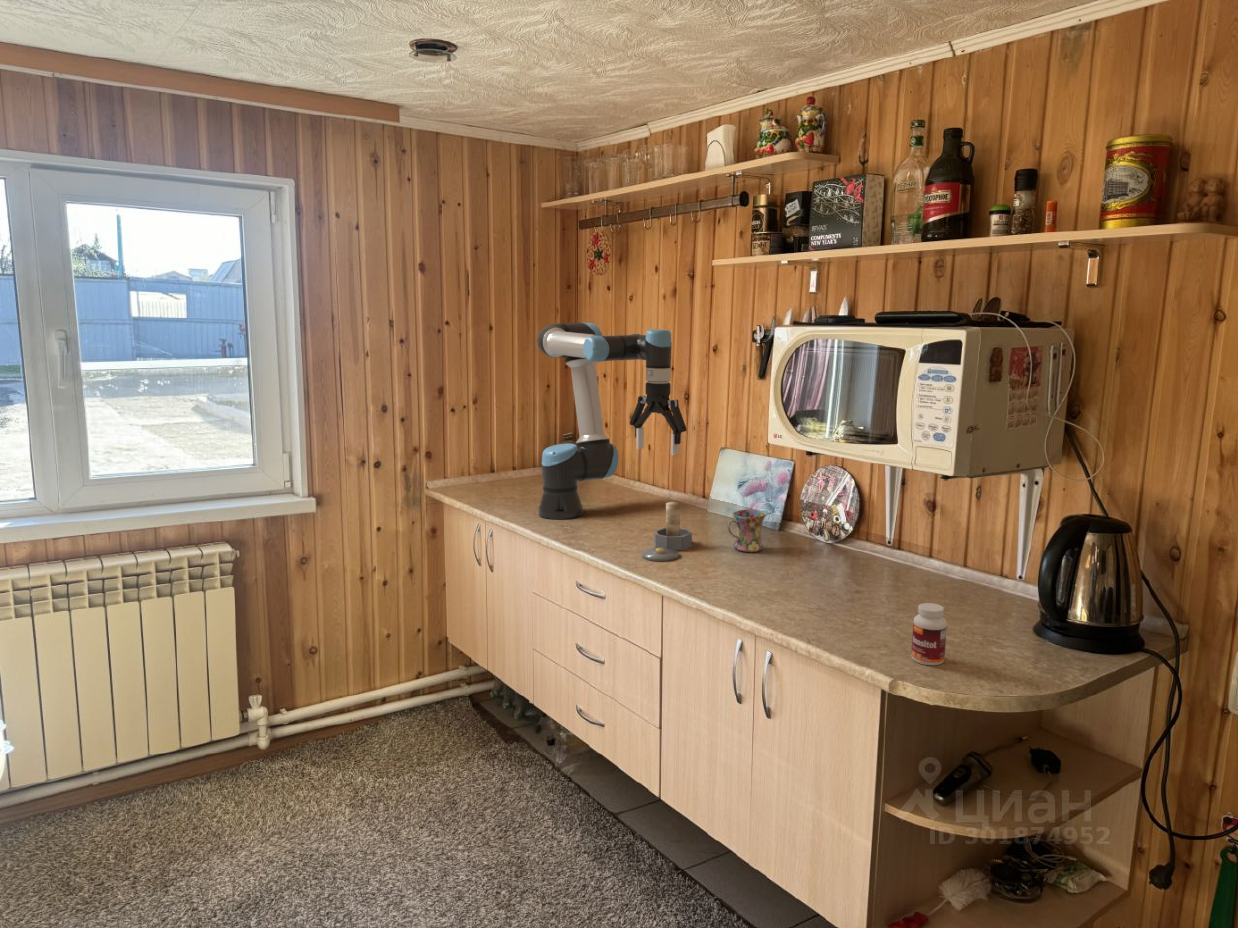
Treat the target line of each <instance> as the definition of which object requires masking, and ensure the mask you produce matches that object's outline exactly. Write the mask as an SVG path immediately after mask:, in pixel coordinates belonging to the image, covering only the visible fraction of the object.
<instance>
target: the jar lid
mask: <svg viewBox="0 0 1238 928" xmlns="http://www.w3.org/2000/svg"><path fill="white" fill-rule="evenodd" d="M641 554H642V558H643V559H644V560H646V561H650V562H670V561H673V560H677V559H678V558H679V552H678V550H673V549H668V548H655V547H653V548H652V547H651V548H649V549H645V550H643V551H642V553H641Z"/></svg>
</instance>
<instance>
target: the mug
mask: <svg viewBox="0 0 1238 928" xmlns="http://www.w3.org/2000/svg"><path fill="white" fill-rule="evenodd" d="M732 517H733V519H734V520H733V519H732V520H730V521H728V523H727V526H726V527H727V530H728V533H729V534H730V535H731V536H732V537H733V538H736V539H735V541H734V544H733V548H734V549H735V550H737V551H739V552H745V553H746V552H747V553H754V552H755V553H756V552H759V551H761V550H763V548H764V545H763V543H762V537H761V535H762V534H761V533H762V532H761V530H762V526H763V525H762V524H763V522H764V520H765V517H766V513H765V512H764V511H761V510H755V509H740V510H735V511H733V512H732ZM732 523H735V526H736V535H735V534H733V532H732V531H731V528H730V526H731V524H732Z"/></svg>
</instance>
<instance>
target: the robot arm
mask: <svg viewBox="0 0 1238 928" xmlns="http://www.w3.org/2000/svg"><path fill="white" fill-rule="evenodd" d="M536 343H537V347H538V349H539V351H540V353H541V354H543V355H544V356H546V357H549V358H555V359H564V360H565V365H566V366H568V367H569V368H570V372H571V380H572V381H571V382H572V387H573V396H574V397H573V398H574V404H575V405H574V406H575V413H576V419H577V427H578V435H579V437H578V439H577V441H575V443H559V444H554V445H551V446H548V447H546V448H545V449H544V450H543V451H542V454H541V465H542V466H541V468H542V469H541V470H542V495H541V498H540V503H539V504H540V505H539V506H538V516H539V517H541V518H544V519H550V520H566V519H573V518H578V517H581V516H583V514H584V506H583V504H582V502H581V498H580V494H579V490H578V483H580V482H586V481H593V480H604V479H605V478H611V477H612V476H613V475H614V474H615V473H616V471H617V470H618V466H619V460H620V458H619V451H618V449H617V447H616V446H615V444H613V443H611V441H610V437H608V436H607V435H606V434H605V431H604V430H605V428H604V421H603V414H602V405H601V400H600V399H601V397H600V389H599V382H598V381H599V380H598V375H597V367H596V365H597V364H598V363H601V362H612V361H613V362H614V361H633V360H640V361H641V360H642V361H645V381H646V383H645V389H644V390H645V391H644V392H645V393H644V394H645V395H640V396H638V397H637V403H636V406H635V408H634V409H633V410H634V411H633V413H632V416H631V418H630V420H629V425H630V426H633V427H634V438H635V439H636V446H635V447H636V450H642V449H643V450H644V448H645V427H644V424H645V423H646V421H647V419H648V418H649V417H650V416H651V414H653V413H656V414H661V415H662V417H664V419H665V420H666V422H667V424H668V425H669V427H670V429H671V430H672V433H670V434H671V437H670V440H671V441H670V455H671V456H677V455H679V452H680V449H679V448H680V447H679V446H680V444H681V443H682V440H681V439H682V438H681V437H682V433H684V432H687V430H688V429H687V425H686V423H685V420H684V418H683V414H682V413H681V409H680V405H679V400H678V399H670V395H671V393H672V391H671V389H672V388H671V387H672V385H671V381H672V345H673V342H672V332H671V331H670V330H669V329H656V328H655V329H648V330H647V331H646V333H645V334H640V333H631V334H630V333H629V334H626V335H625V334H622V335H621V334H620V335H619V334H618V335H603V334H602V331H601V329H600V328H599V326H597V324H595V323H593V322H592V323H591V322H583V321H582V322H565V323H564V322H562V323H561V322H557V323H550V324H548V325H546V326H544V327H543V328H542V329H540V331H539V333H538V335H537V338H536ZM645 406H646V407H645Z"/></svg>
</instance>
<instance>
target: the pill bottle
mask: <svg viewBox="0 0 1238 928" xmlns="http://www.w3.org/2000/svg"><path fill="white" fill-rule="evenodd" d="M944 612H945V608H944V607H943V606H942V605H940V604H938V603H931V602H925V603H920V604H918V607H917V613H918V614H917V615H915V616H914V618H913V623H912V626H913V627H912V641H911V653H910V655H911V656H910V657H911V659H912V660H913V661H914V662H915V663H918V664H921V665H925V666H939V665H941V664H943V663H944V661H945V655H946V645H947V644H946V642H947V631H948V630H947V627H948V623H947V620H946V618H944V617H943V616H944Z"/></svg>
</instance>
